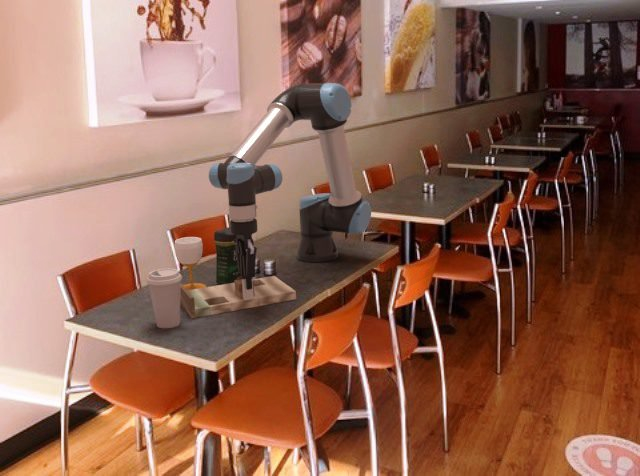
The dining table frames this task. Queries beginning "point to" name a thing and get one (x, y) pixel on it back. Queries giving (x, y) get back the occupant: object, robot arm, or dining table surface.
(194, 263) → the cup
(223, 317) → the dining table surface
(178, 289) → the coffee cup
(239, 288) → the walnut block
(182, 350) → the dining table surface
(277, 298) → the trap board
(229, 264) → the coffee jar
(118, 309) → the dining table surface
